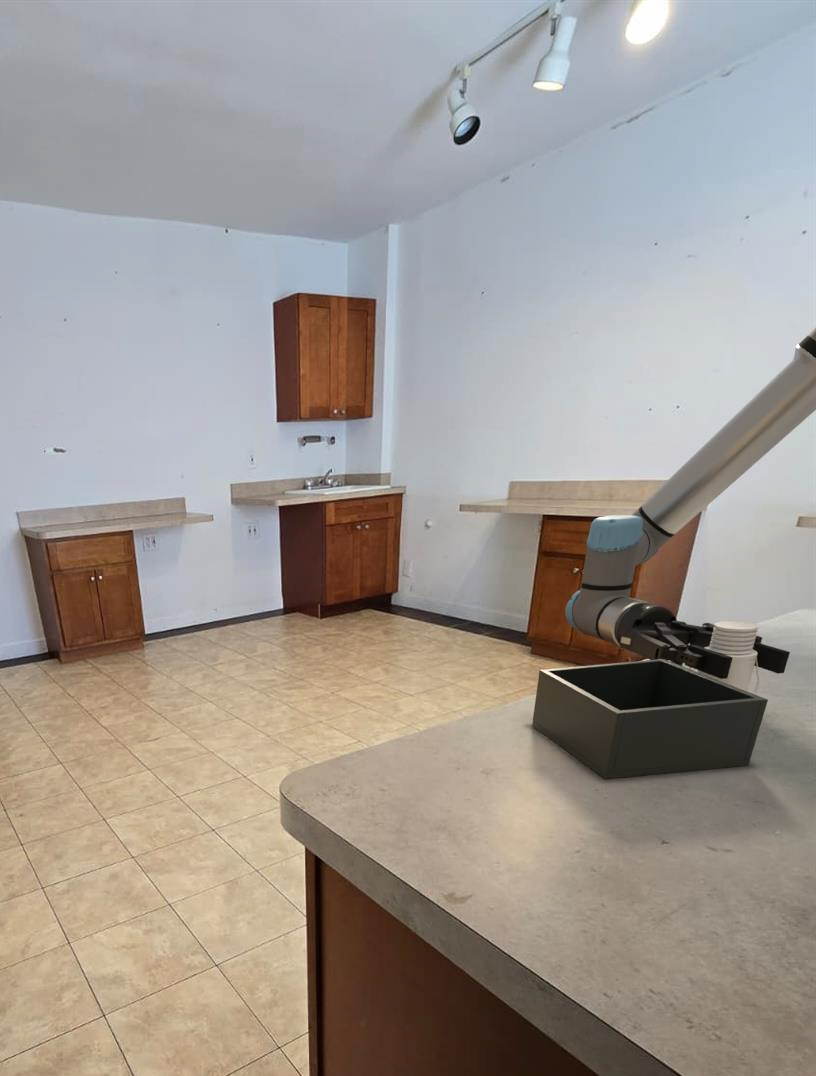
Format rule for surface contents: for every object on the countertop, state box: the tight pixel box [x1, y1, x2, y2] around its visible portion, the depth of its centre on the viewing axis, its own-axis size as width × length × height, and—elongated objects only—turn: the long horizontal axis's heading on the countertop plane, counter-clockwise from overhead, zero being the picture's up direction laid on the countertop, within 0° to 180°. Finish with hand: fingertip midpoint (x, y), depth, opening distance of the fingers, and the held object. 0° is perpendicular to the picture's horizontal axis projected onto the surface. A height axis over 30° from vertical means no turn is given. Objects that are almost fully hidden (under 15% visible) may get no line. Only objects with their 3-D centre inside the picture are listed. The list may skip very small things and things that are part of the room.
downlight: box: [688, 620, 761, 693], centre depth 84 cm, size 8×7×10 cm
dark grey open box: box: [531, 659, 769, 780], centre depth 77 cm, size 17×17×8 cm
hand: (755, 665), depth 79 cm, fingers closed on downlight, 7 cm apart
